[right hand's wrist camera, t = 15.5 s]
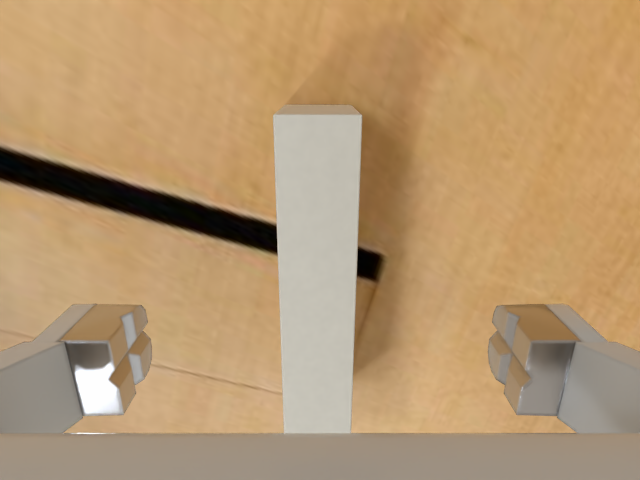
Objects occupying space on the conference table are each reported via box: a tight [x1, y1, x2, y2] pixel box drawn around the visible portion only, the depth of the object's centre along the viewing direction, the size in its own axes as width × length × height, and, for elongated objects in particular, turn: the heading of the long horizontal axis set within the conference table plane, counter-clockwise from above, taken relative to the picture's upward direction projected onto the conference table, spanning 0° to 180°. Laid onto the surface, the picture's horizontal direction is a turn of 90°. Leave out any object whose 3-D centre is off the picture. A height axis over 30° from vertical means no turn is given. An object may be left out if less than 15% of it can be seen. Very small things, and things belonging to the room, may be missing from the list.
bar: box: [273, 105, 362, 433], centre depth 30 cm, size 24×5×8 cm, turn 0°
